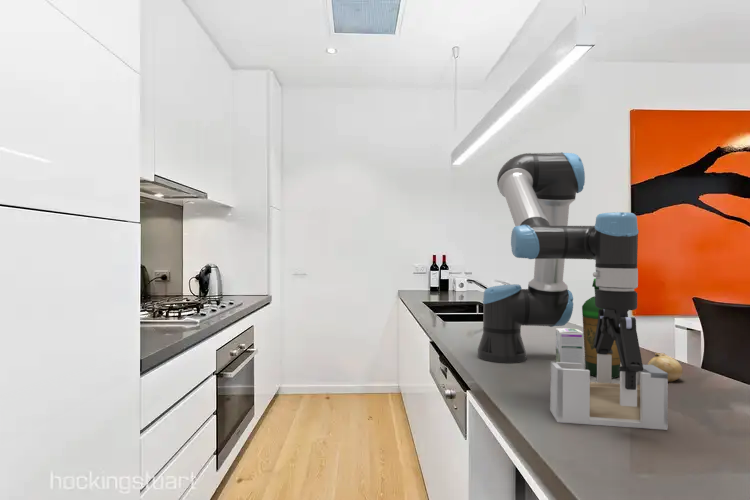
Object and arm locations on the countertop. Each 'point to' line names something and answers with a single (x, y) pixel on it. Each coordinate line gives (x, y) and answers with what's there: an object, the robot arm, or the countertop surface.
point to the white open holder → (575, 397)
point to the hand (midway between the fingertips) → (615, 394)
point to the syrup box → (569, 345)
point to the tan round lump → (667, 366)
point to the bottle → (589, 335)
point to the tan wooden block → (611, 402)
